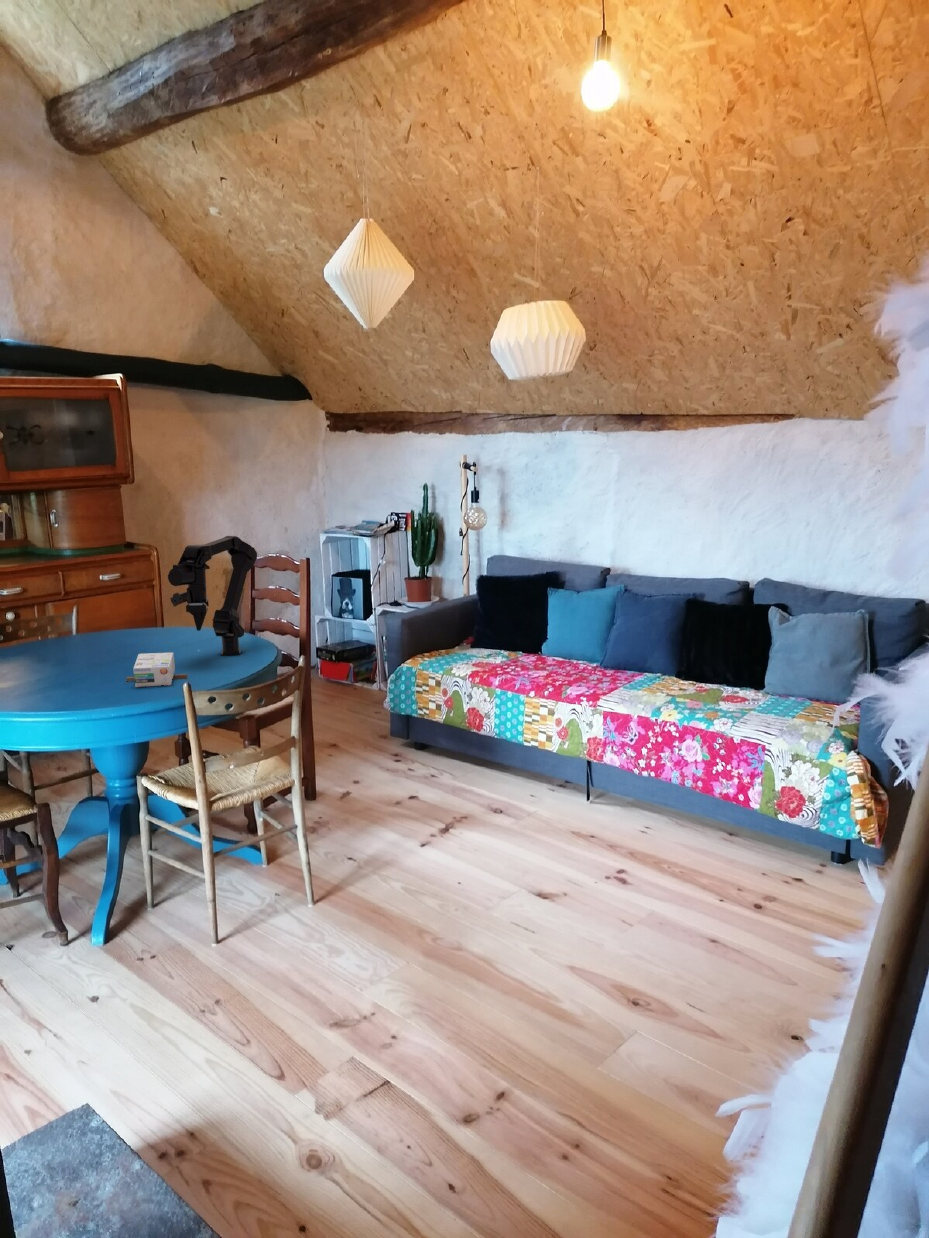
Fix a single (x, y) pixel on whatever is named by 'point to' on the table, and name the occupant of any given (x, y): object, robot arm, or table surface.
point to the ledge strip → (175, 676)
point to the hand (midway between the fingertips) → (198, 630)
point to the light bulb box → (154, 669)
